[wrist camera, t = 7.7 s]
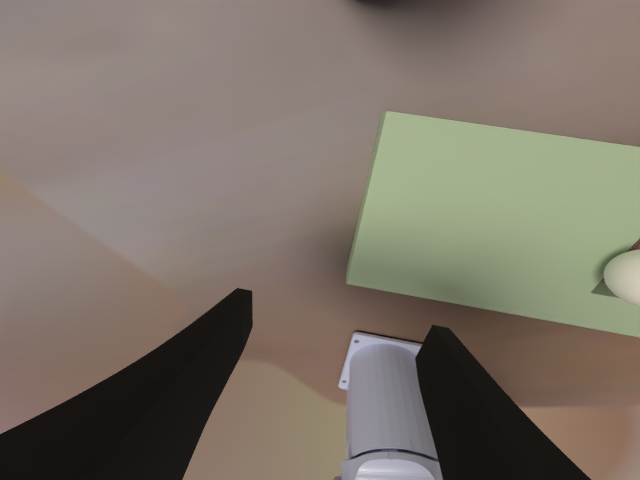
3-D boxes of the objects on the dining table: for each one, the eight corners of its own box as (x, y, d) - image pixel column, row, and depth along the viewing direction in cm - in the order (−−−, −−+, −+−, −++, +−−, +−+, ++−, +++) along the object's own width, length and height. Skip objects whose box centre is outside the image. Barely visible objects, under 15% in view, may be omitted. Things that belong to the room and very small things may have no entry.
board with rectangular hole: (637, 321, 19) (778, 420, 12) (346, 269, 20) (344, 336, 14) (815, 163, 13) (1252, 204, 7) (384, 102, 14) (410, 88, 8)
